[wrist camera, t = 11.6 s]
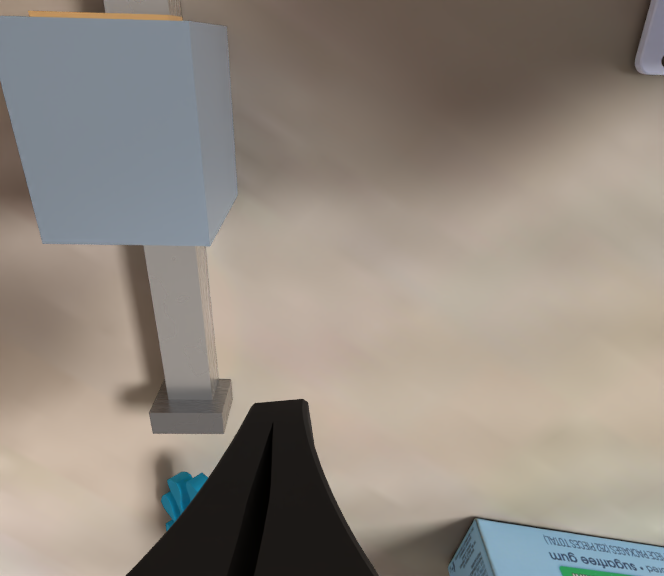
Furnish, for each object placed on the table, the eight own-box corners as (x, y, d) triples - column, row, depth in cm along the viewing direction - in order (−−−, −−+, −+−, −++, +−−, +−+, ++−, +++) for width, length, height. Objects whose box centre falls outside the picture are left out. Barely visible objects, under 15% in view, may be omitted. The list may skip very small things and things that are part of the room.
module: (226, 21, 17) (188, 14, 12) (237, 194, 20) (210, 246, 15) (80, 17, 17) (-19, 8, 12) (112, 192, 20) (42, 243, 15)
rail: (179, -209, 14) (154, -253, 12) (232, 399, 24) (223, 433, 22) (67, -214, 14) (22, -258, 12) (167, 398, 24) (152, 433, 22)
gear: (153, 444, 24) (285, 629, 19) (252, 394, 27) (383, 535, 22) (148, 558, 30) (246, 720, 25) (230, 503, 34) (329, 633, 29)
